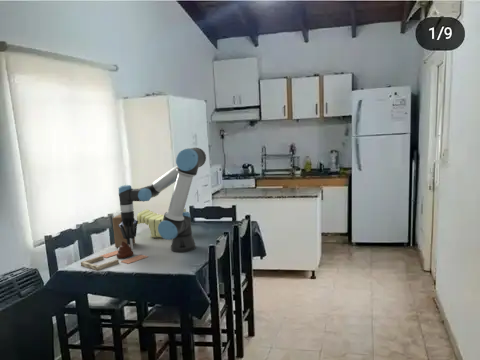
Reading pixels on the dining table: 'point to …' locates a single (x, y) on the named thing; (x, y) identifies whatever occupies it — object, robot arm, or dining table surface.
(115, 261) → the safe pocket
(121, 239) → the wooden block
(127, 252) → the poop emoji
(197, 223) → the dining table surface
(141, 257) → the pads
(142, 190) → the robot arm
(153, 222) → the slatted curved stool
